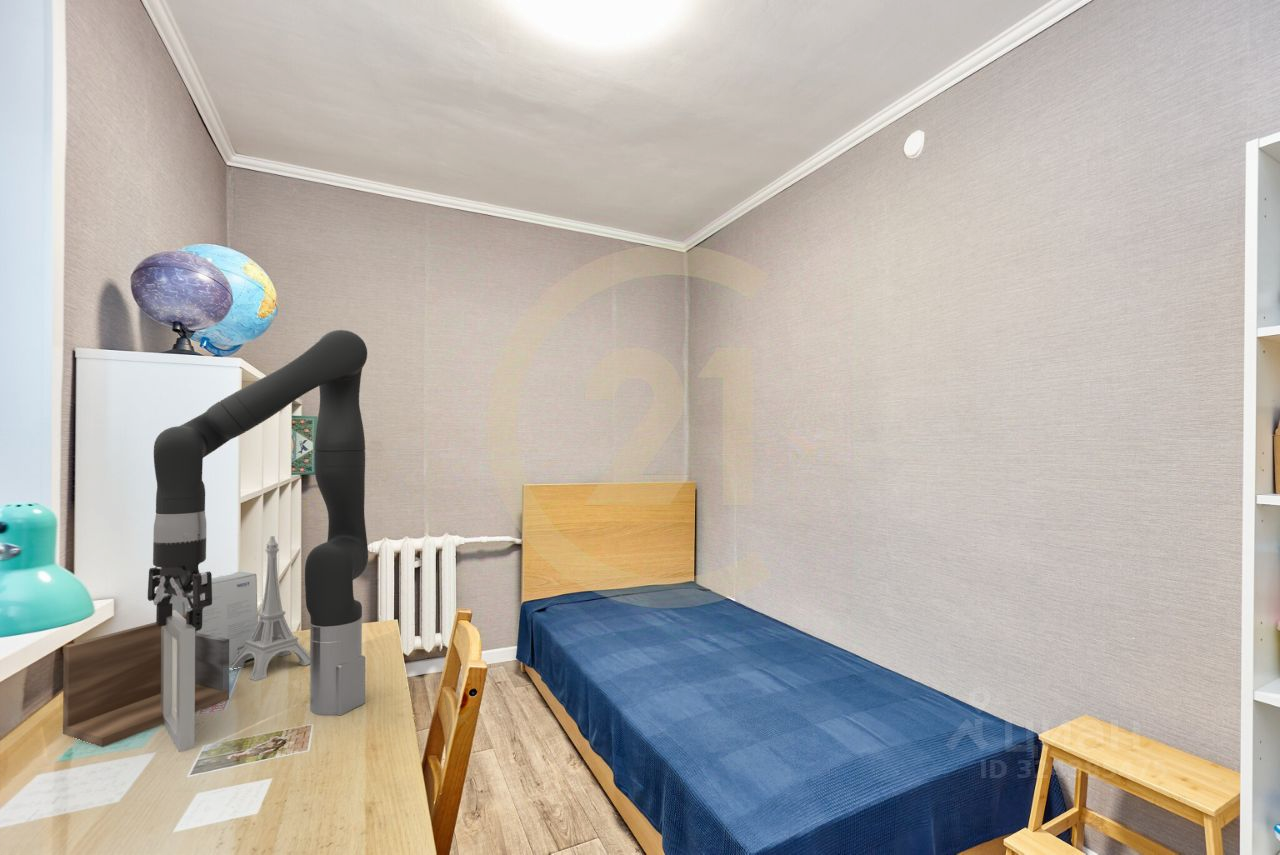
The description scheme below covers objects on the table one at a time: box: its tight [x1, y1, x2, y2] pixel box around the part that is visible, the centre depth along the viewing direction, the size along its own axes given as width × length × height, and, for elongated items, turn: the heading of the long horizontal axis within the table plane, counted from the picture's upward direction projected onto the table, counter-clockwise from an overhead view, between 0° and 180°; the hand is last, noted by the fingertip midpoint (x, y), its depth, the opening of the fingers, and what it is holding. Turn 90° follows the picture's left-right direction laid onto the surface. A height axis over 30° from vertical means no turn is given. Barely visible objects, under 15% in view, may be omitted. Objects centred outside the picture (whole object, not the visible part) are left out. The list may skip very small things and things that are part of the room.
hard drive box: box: [169, 571, 259, 665], centre depth 136 cm, size 16×8×20 cm, turn 150°
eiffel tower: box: [229, 535, 310, 682], centre depth 137 cm, size 13×13×30 cm
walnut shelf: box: [62, 614, 230, 748], centre depth 112 cm, size 12×21×16 cm, turn 158°
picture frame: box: [161, 610, 196, 753], centre depth 106 cm, size 16×3×21 cm, turn 48°
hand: (178, 628), depth 106 cm, fingers open, 8 cm apart
